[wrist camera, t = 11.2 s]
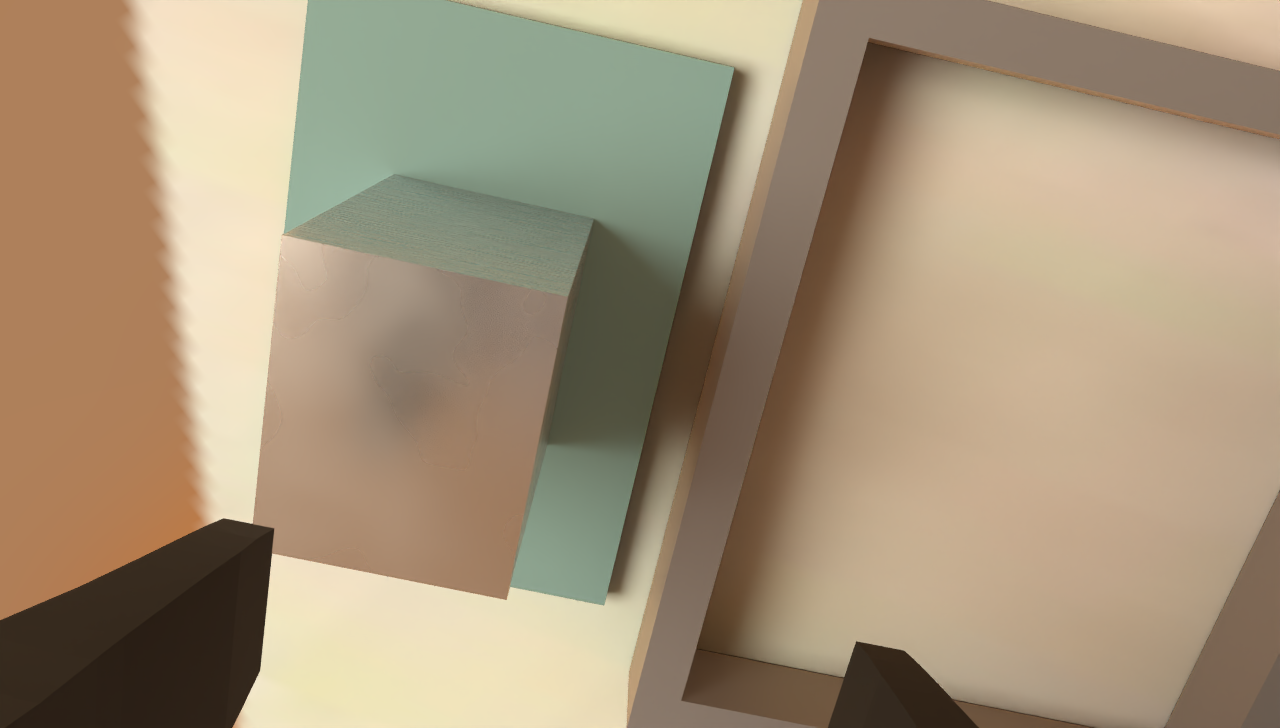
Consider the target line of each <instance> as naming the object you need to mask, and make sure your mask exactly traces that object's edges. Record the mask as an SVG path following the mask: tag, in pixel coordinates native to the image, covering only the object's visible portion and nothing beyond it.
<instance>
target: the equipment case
mask: <svg viewBox="0 0 1280 728" xmlns="http://www.w3.org/2000/svg"><path fill="white" fill-rule="evenodd" d="M868 42H870V43H875V44H879V45H883V46H887V47H891V48H896V49H900V50H904V51H908V52H913V53H917V54H921V55H925V56H930V57H934V58H938V59H942V60H946V61H951V62H955V63H959V64H963V65H968V66H972V67H976V68H980V69H984V70H989V71H993V72H997V73H1001V74H1006V75H1010V76H1014V77H1018V78H1022V79H1027V80H1031V81H1035V82H1039V83H1044V84H1048V85H1052V86H1056V87H1061V88H1065V89H1069V90H1073V91H1077V92H1082V93H1086V94H1090V95H1094V96H1099V97H1103V98H1107V99H1111V100H1115V101H1120V102H1124V103H1128V104H1132V105H1137V106H1141V107H1145V108H1149V109H1153V110H1158V111H1162V112H1166V113H1170V114H1175V115H1179V116H1183V117H1187V118H1192V119H1196V120H1200V121H1204V122H1208V123H1213V124H1217V125H1221V126H1225V127H1230V128H1234V129H1238V130H1242V131H1246V132H1251V133H1255V134H1259V135H1263V136H1268V137H1272V138H1276V139H1280V71H1278V70H1273V69H1269V68H1265V67H1261V66H1257V65H1253V64H1248V63H1244V62H1240V61H1236V60H1232V59H1228V58H1224V57H1219V56H1215V55H1211V54H1207V53H1203V52H1199V51H1194V50H1190V49H1186V48H1182V47H1178V46H1174V45H1170V44H1165V43H1161V42H1157V41H1153V40H1149V39H1145V38H1141V37H1136V36H1132V35H1128V34H1124V33H1120V32H1116V31H1111V30H1107V29H1103V28H1099V27H1095V26H1091V25H1087V24H1082V23H1078V22H1074V21H1070V20H1066V19H1062V18H1057V17H1053V16H1049V15H1045V14H1041V13H1037V12H1033V11H1028V10H1024V9H1020V8H1016V7H1012V6H1008V5H1003V4H999V3H995V2H991V1H987V0H803V2H802V6H801V10H800V14H799V18H798V22H797V25H796V29H795V33H794V37H793V41H792V45H791V49H790V52H789V56H788V60H787V64H786V68H785V72H784V76H783V79H782V83H781V87H780V91H779V95H778V99H777V103H776V106H775V110H774V114H773V118H772V122H771V126H770V130H769V134H768V137H767V141H766V145H765V149H764V153H763V157H762V161H761V164H760V168H759V172H758V176H757V180H756V184H755V188H754V191H753V195H752V199H751V203H750V207H749V211H748V215H747V218H746V222H745V226H744V230H743V234H742V238H741V242H740V245H739V249H738V253H737V257H736V261H735V265H734V269H733V273H732V276H731V280H730V284H729V288H728V292H727V296H726V300H725V303H724V307H723V311H722V315H721V319H720V323H719V327H718V330H717V334H716V338H715V342H714V346H713V350H712V354H711V357H710V361H709V365H708V369H707V373H706V377H705V381H704V384H703V388H702V392H701V396H700V400H699V404H698V408H697V412H696V415H695V419H694V423H693V427H692V431H691V435H690V439H689V442H688V446H687V450H686V454H685V458H684V462H683V466H682V469H681V473H680V477H679V481H678V485H677V489H676V493H675V496H674V500H673V504H672V508H671V512H670V516H669V520H668V523H667V527H666V531H665V535H664V539H663V543H662V547H661V551H660V554H659V558H658V562H657V566H656V570H655V574H654V578H653V581H652V585H651V589H650V593H649V597H648V601H647V605H646V608H645V612H644V616H643V620H642V624H641V628H640V632H639V635H638V639H637V643H636V647H635V651H634V655H633V659H632V662H631V666H630V670H629V683H628V707H627V728H828V725H829V722H830V719H831V716H832V713H833V710H834V707H835V704H836V701H837V698H838V695H839V692H840V689H841V686H842V683H843V680H844V678H839V677H834V676H829V675H824V674H819V673H814V672H809V671H804V670H799V669H794V668H789V667H784V666H779V665H774V664H769V663H764V662H759V661H754V660H749V659H744V658H739V657H733V656H728V655H723V654H718V653H713V652H708V651H703V650H698V649H696V647H697V643H698V640H699V636H700V633H701V629H702V626H703V622H704V619H705V615H706V612H707V608H708V604H709V601H710V597H711V594H712V590H713V587H714V583H715V580H716V576H717V573H718V569H719V566H720V562H721V559H722V555H723V552H724V548H725V544H726V541H727V537H728V534H729V530H730V527H731V523H732V520H733V516H734V513H735V509H736V506H737V502H738V499H739V495H740V492H741V488H742V484H743V481H744V477H745V474H746V470H747V467H748V463H749V460H750V456H751V453H752V449H753V446H754V442H755V439H756V435H757V432H758V428H759V424H760V421H761V417H762V414H763V410H764V407H765V403H766V400H767V396H768V393H769V389H770V386H771V382H772V379H773V375H774V372H775V368H776V364H777V361H778V357H779V354H780V350H781V347H782V343H783V340H784V336H785V333H786V329H787V326H788V322H789V319H790V315H791V312H792V308H793V304H794V301H795V297H796V294H797V290H798V287H799V283H800V280H801V276H802V273H803V269H804V266H805V262H806V259H807V255H808V252H809V248H810V244H811V241H812V237H813V234H814V230H815V227H816V223H817V220H818V216H819V213H820V209H821V206H822V202H823V199H824V195H825V192H826V188H827V184H828V181H829V177H830V174H831V170H832V167H833V163H834V160H835V156H836V153H837V149H838V146H839V142H840V139H841V135H842V131H843V128H844V124H845V121H846V117H847V114H848V110H849V107H850V103H851V100H852V96H853V93H854V89H855V86H856V82H857V79H858V75H859V71H860V68H861V64H862V61H863V57H864V54H865V50H866V47H867V43H868ZM953 701H954V702H955V703H956V704H957V705H958V706H959V707H960V708H961V709H962V710H963V711H964V712H965V713H966V714H967V715H968V717H969V718H970V719H971V720H972V721H973V722H974V723H975V724H976V725H977V726H978V727H979V728H1091V727H1086V726H1081V725H1076V724H1071V723H1066V722H1061V721H1056V720H1051V719H1046V718H1041V717H1036V716H1031V715H1026V714H1021V713H1016V712H1010V711H1005V710H1000V709H995V708H990V707H985V706H980V705H975V704H970V703H965V702H960V701H955V700H953ZM1165 728H1280V492H1279V494H1278V496H1277V498H1276V500H1275V502H1274V504H1273V506H1272V508H1271V510H1270V512H1269V514H1268V516H1267V518H1266V520H1265V522H1264V525H1263V527H1262V529H1261V531H1260V533H1259V535H1258V537H1257V539H1256V541H1255V543H1254V545H1253V547H1252V549H1251V551H1250V553H1249V555H1248V557H1247V560H1246V562H1245V564H1244V566H1243V568H1242V570H1241V572H1240V574H1239V576H1238V578H1237V580H1236V582H1235V584H1234V586H1233V588H1232V590H1231V592H1230V595H1229V597H1228V599H1227V601H1226V603H1225V605H1224V607H1223V609H1222V611H1221V613H1220V615H1219V617H1218V619H1217V621H1216V623H1215V625H1214V627H1213V630H1212V632H1211V634H1210V636H1209V638H1208V640H1207V642H1206V644H1205V646H1204V648H1203V650H1202V652H1201V654H1200V656H1199V658H1198V660H1197V662H1196V665H1195V667H1194V669H1193V671H1192V673H1191V675H1190V677H1189V679H1188V681H1187V683H1186V685H1185V687H1184V689H1183V691H1182V693H1181V695H1180V697H1179V700H1178V702H1177V704H1176V706H1175V708H1174V710H1173V712H1172V714H1171V716H1170V718H1169V720H1168V722H1167V724H1166V726H1165Z"/></svg>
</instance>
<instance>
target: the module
mask: <svg viewBox="0 0 1280 728" xmlns="http://www.w3.org/2000/svg"><path fill="white" fill-rule="evenodd" d="M593 221H594V218H590V217H585V216H581V215H576V214H572V213H567V212H563V211H558V210H554V209H549V208H545V207H540V206H536V205H531V204H527V203H522V202H518V201H513V200H509V199H504V198H500V197H495V196H491V195H486V194H482V193H477V192H473V191H468V190H464V189H459V188H454V187H450V186H445V185H441V184H436V183H432V182H427V181H423V180H418V179H414V178H409V177H405V176H400V175H396V174H393V175H391V176H389V177H388V178H386V179H384V180H382V181H380V182H378V183H377V184H375V185H373V186H371V187H369V188H367V189H366V190H364V191H362V192H360V193H358V194H356V195H355V196H353V197H351V198H349V199H347V200H345V201H343V202H342V203H340V204H338V205H336V206H334V207H332V208H331V209H329V210H327V211H325V212H323V213H321V214H320V215H318V216H316V217H314V218H312V219H310V220H309V221H307V222H305V223H303V224H301V225H299V226H297V227H296V228H294V229H292V230H290V231H288V232H286V233H285V234H283V235H282V239H281V249H280V259H279V269H278V279H277V289H276V299H275V309H274V319H273V328H272V338H271V348H270V358H269V368H268V378H267V388H266V398H265V408H264V418H263V428H262V438H261V448H260V458H259V468H258V478H257V488H256V498H255V508H254V518H253V524H255V525H260V526H265V527H270V528H274V538H273V548H272V553H273V554H278V555H283V556H288V557H293V558H298V559H303V560H308V561H313V562H318V563H323V564H328V565H334V566H339V567H344V568H349V569H354V570H359V571H364V572H369V573H374V574H379V575H384V576H389V577H394V578H399V579H404V580H409V581H414V582H419V583H424V584H429V585H434V586H439V587H445V588H450V589H455V590H460V591H465V592H470V593H475V594H480V595H485V596H490V597H495V598H500V599H505V600H507V596H508V592H509V589H510V585H511V581H512V577H513V573H514V570H515V566H516V562H517V558H518V554H519V551H520V547H521V543H522V539H523V535H524V532H525V528H526V524H527V520H528V516H529V513H530V509H531V505H532V501H533V498H534V494H535V490H536V486H537V482H538V479H539V475H540V471H541V467H542V463H543V460H544V456H545V452H546V448H547V444H548V439H549V435H550V430H551V425H552V420H553V415H554V410H555V405H556V401H557V396H558V391H559V386H560V381H561V376H562V371H563V367H564V362H565V357H566V352H567V347H568V342H569V337H570V333H571V328H572V323H573V318H574V313H575V308H576V303H577V299H578V294H579V289H580V284H581V279H582V274H583V269H584V265H585V260H586V255H587V250H588V245H589V240H590V235H591V231H592V226H593Z"/></svg>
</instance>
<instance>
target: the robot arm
mask: <svg viewBox="0 0 1280 728" xmlns="http://www.w3.org/2000/svg"><path fill="white" fill-rule="evenodd" d="M273 538H274V528H270V527H265V526H260V525H255V524H250V523H245V522H239V521H234V520H229V519H221V520H219V521H217V522H214V523H212V524H209V525H207V526H205V527H203V528H201V529H199V530H196V531H194V532H192V533H190V534H188V535H186V536H184V537H182V538H180V539H178V540H176V541H174V542H172V543H170V544H168V545H166V546H163V547H161V548H159V549H158V550H155V551H153V552H151V553H149V554H147V555H145V556H143V557H141V558H139V559H137V560H135V561H133V562H130V563H128V564H126V565H124V566H122V567H120V568H118V569H116V570H114V571H112V572H109V573H108V574H105V575H103V576H101V577H99V578H97V579H95V580H93V581H91V582H89V583H86V584H84V585H82V586H80V587H78V588H75V589H73V590H71V591H68V592H66V593H63V594H61V595H59V596H56V597H54V598H52V599H49V600H47V601H45V602H42V603H40V604H38V605H35V606H33V607H31V608H28V609H26V610H24V611H21V612H19V613H16V614H14V615H12V616H9V617H8V618H5V619H3V620H0V728H232V727H233V725H234V723H235V721H236V719H237V717H238V715H239V713H240V711H241V709H242V707H243V705H244V703H245V701H246V699H247V697H248V695H249V693H250V690H251V688H252V686H253V684H254V682H255V680H256V678H257V676H258V674H259V672H260V666H261V656H262V646H263V636H264V626H265V617H266V607H267V597H268V587H269V577H270V567H271V557H272V548H273ZM828 728H979V727H978V726H977V725H976V724H975V723H974V722H973V721H972V720H971V719H970V718H969V717H968V715H967V714H966V713H965V712H964V711H963V710H962V709H961V708H960V707H959V706H958V705H957V704H956V703H955V702H954V701H953V699H952V698H951V697H950V696H949V695H948V694H947V693H946V692H945V691H944V690H943V689H942V688H941V687H940V686H939V685H938V684H937V683H936V681H935V680H934V679H933V678H932V677H931V676H930V675H929V674H928V673H927V672H926V671H925V670H924V669H923V668H922V667H921V666H920V665H919V664H918V663H917V662H916V661H915V660H914V659H913V658H912V657H911V656H909V655H908V654H907V653H906V652H905V651H903V650H898V649H893V648H888V647H882V646H877V645H872V644H867V643H862V642H857V641H856V644H855V647H854V650H853V653H852V656H851V659H850V662H849V665H848V668H847V671H846V674H845V677H844V680H843V683H842V686H841V689H840V692H839V695H838V698H837V701H836V704H835V707H834V710H833V713H832V716H831V719H830V722H829V725H828Z"/></svg>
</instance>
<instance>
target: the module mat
mask: <svg viewBox="0 0 1280 728" xmlns="http://www.w3.org/2000/svg"><path fill="white" fill-rule="evenodd" d="M733 72H734V67H731V66H727V65H723V64H718V63H714V62H710V61H706V60H701V59H697V58H693V57H688V56H684V55H680V54H676V53H671V52H667V51H663V50H658V49H654V48H650V47H646V46H641V45H637V44H633V43H628V42H624V41H620V40H616V39H611V38H607V37H603V36H598V35H594V34H590V33H586V32H581V31H577V30H573V29H568V28H564V27H560V26H556V25H551V24H547V23H543V22H538V21H534V20H530V19H526V18H521V17H517V16H513V15H508V14H504V13H500V12H496V11H491V10H487V9H483V8H478V7H474V6H470V5H466V4H461V3H457V2H453V1H448V0H308V5H307V14H306V24H305V34H304V44H303V54H302V63H301V73H300V83H299V93H298V103H297V112H296V122H295V132H294V142H293V152H292V161H291V171H290V181H289V191H288V201H287V210H286V220H285V230H284V234H285V233H286V232H288V231H290V230H292V229H294V228H296V227H297V226H299V225H301V224H303V223H305V222H307V221H309V220H310V219H312V218H314V217H316V216H318V215H320V214H321V213H323V212H325V211H327V210H329V209H331V208H332V207H334V206H336V205H338V204H340V203H342V202H343V201H345V200H347V199H349V198H351V197H353V196H355V195H356V194H358V193H360V192H362V191H364V190H366V189H367V188H369V187H371V186H373V185H375V184H377V183H378V182H380V181H382V180H384V179H386V178H388V177H389V176H391V175H393V174H396V175H400V176H405V177H409V178H414V179H418V180H423V181H427V182H432V183H436V184H441V185H445V186H450V187H454V188H459V189H464V190H468V191H473V192H477V193H482V194H486V195H491V196H495V197H500V198H504V199H509V200H513V201H518V202H522V203H527V204H531V205H536V206H540V207H545V208H549V209H554V210H558V211H563V212H567V213H572V214H576V215H581V216H585V217H590V218H594V221H593V226H592V231H591V235H590V240H589V245H588V250H587V255H586V260H585V265H584V269H583V274H582V279H581V284H580V289H579V294H578V299H577V303H576V308H575V313H574V318H573V323H572V328H571V333H570V337H569V342H568V347H567V352H566V357H565V362H564V367H563V371H562V376H561V381H560V386H559V391H558V396H557V401H556V405H555V410H554V415H553V420H552V425H551V430H550V435H549V439H548V444H547V448H546V452H545V456H544V460H543V463H542V467H541V471H540V475H539V479H538V482H537V486H536V490H535V494H534V498H533V501H532V505H531V509H530V513H529V516H528V520H527V524H526V528H525V532H524V535H523V539H522V543H521V547H520V551H519V554H518V558H517V562H516V566H515V570H514V573H513V577H512V581H511V585H510V587H514V588H519V589H524V590H529V591H534V592H539V593H544V594H549V595H554V596H559V597H564V598H569V599H574V600H579V601H584V602H589V603H594V604H599V605H604V604H605V600H606V596H607V592H608V588H609V583H610V579H611V575H612V571H613V567H614V563H615V559H616V555H617V550H618V546H619V542H620V538H621V534H622V530H623V526H624V522H625V517H626V513H627V509H628V505H629V501H630V497H631V493H632V489H633V484H634V480H635V476H636V472H637V468H638V464H639V460H640V456H641V451H642V447H643V443H644V439H645V435H646V431H647V427H648V423H649V418H650V414H651V410H652V406H653V402H654V398H655V394H656V390H657V385H658V381H659V377H660V373H661V369H662V365H663V361H664V357H665V352H666V348H667V344H668V340H669V336H670V332H671V328H672V324H673V319H674V315H675V311H676V307H677V303H678V299H679V295H680V291H681V286H682V282H683V278H684V274H685V270H686V266H687V262H688V258H689V253H690V249H691V245H692V241H693V237H694V233H695V229H696V225H697V220H698V216H699V212H700V208H701V204H702V200H703V196H704V192H705V187H706V183H707V179H708V175H709V171H710V167H711V163H712V159H713V154H714V150H715V146H716V142H717V138H718V134H719V130H720V126H721V121H722V117H723V113H724V109H725V105H726V101H727V97H728V93H729V88H730V84H731V80H732V76H733Z"/></svg>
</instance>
